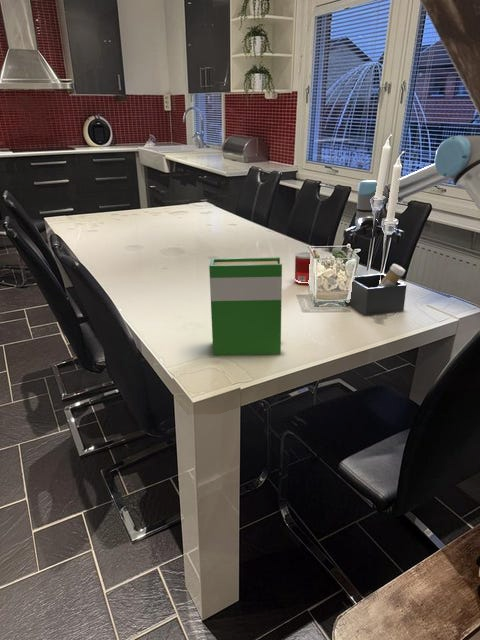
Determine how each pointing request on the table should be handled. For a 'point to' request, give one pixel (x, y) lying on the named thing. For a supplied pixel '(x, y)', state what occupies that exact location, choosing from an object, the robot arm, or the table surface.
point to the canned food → (302, 267)
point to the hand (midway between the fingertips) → (376, 239)
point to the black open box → (376, 295)
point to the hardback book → (246, 305)
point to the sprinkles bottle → (392, 276)
